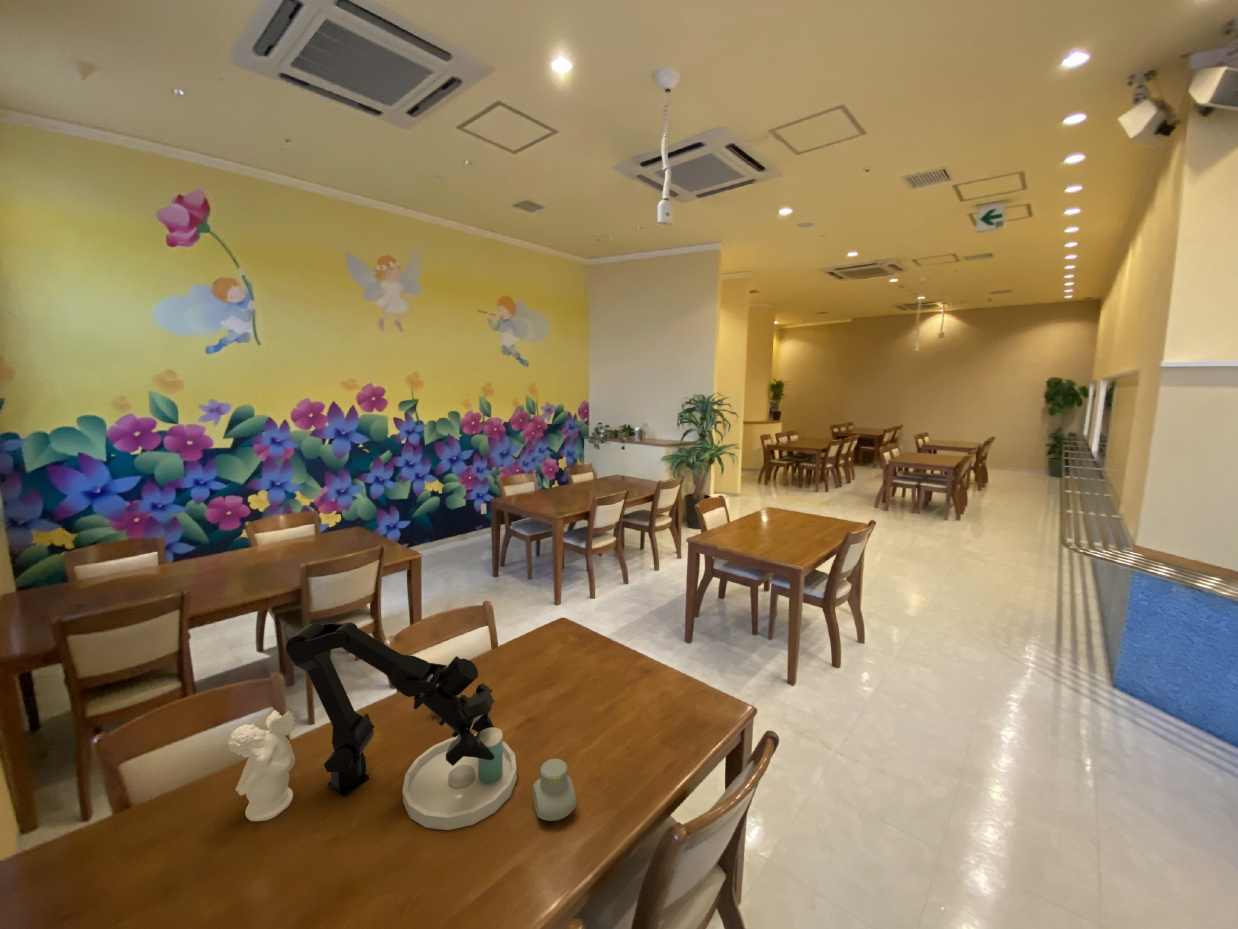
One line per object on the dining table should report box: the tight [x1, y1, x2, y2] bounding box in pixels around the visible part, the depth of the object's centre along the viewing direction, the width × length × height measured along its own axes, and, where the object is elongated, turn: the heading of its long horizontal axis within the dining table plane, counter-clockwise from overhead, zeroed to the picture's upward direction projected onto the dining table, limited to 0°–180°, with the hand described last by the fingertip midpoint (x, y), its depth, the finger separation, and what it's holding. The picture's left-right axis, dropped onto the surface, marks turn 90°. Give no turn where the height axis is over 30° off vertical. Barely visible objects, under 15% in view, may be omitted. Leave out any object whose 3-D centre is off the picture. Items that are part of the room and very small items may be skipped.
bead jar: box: [478, 726, 504, 784], centre depth 115 cm, size 6×6×10 cm
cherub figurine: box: [227, 709, 296, 822], centre depth 109 cm, size 12×12×22 cm
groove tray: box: [402, 733, 518, 831], centre depth 116 cm, size 25×25×3 cm
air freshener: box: [531, 758, 577, 822], centre depth 109 cm, size 11×8×10 cm
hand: (496, 749), depth 115 cm, fingers closed on bead jar, 6 cm apart
